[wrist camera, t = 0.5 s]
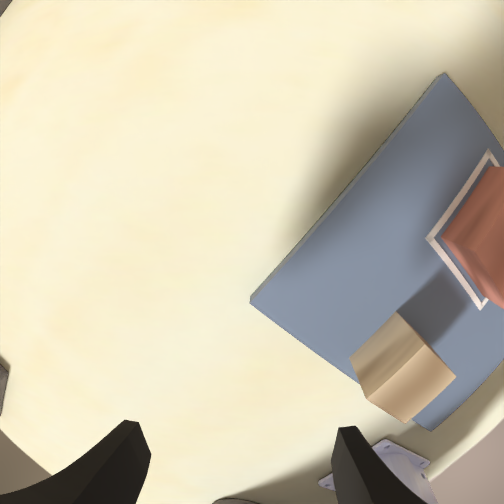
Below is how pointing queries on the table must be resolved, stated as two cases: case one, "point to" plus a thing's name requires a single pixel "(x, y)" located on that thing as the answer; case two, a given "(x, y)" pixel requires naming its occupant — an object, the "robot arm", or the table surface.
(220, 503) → the flask
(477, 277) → the base block
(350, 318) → the board
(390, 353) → the maple cube
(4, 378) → the frame
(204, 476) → the table surface
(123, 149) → the table surface
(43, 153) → the table surface
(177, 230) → the table surface
